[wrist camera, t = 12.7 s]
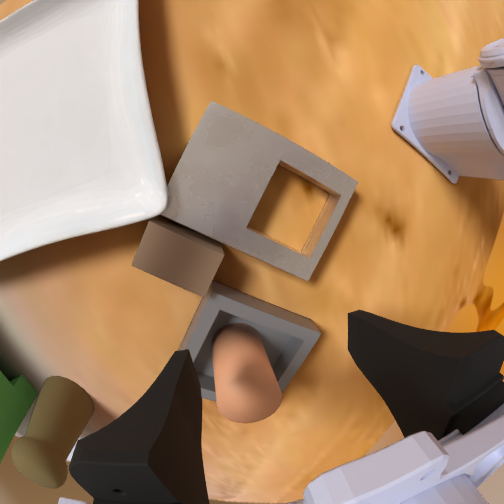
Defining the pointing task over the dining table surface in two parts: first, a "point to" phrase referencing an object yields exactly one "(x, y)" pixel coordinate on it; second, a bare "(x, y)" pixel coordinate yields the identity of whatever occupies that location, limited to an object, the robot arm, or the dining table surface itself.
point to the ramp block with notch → (13, 407)
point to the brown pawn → (52, 432)
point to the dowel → (243, 375)
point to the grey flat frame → (250, 188)
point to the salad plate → (74, 124)
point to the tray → (262, 320)
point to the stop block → (178, 255)
